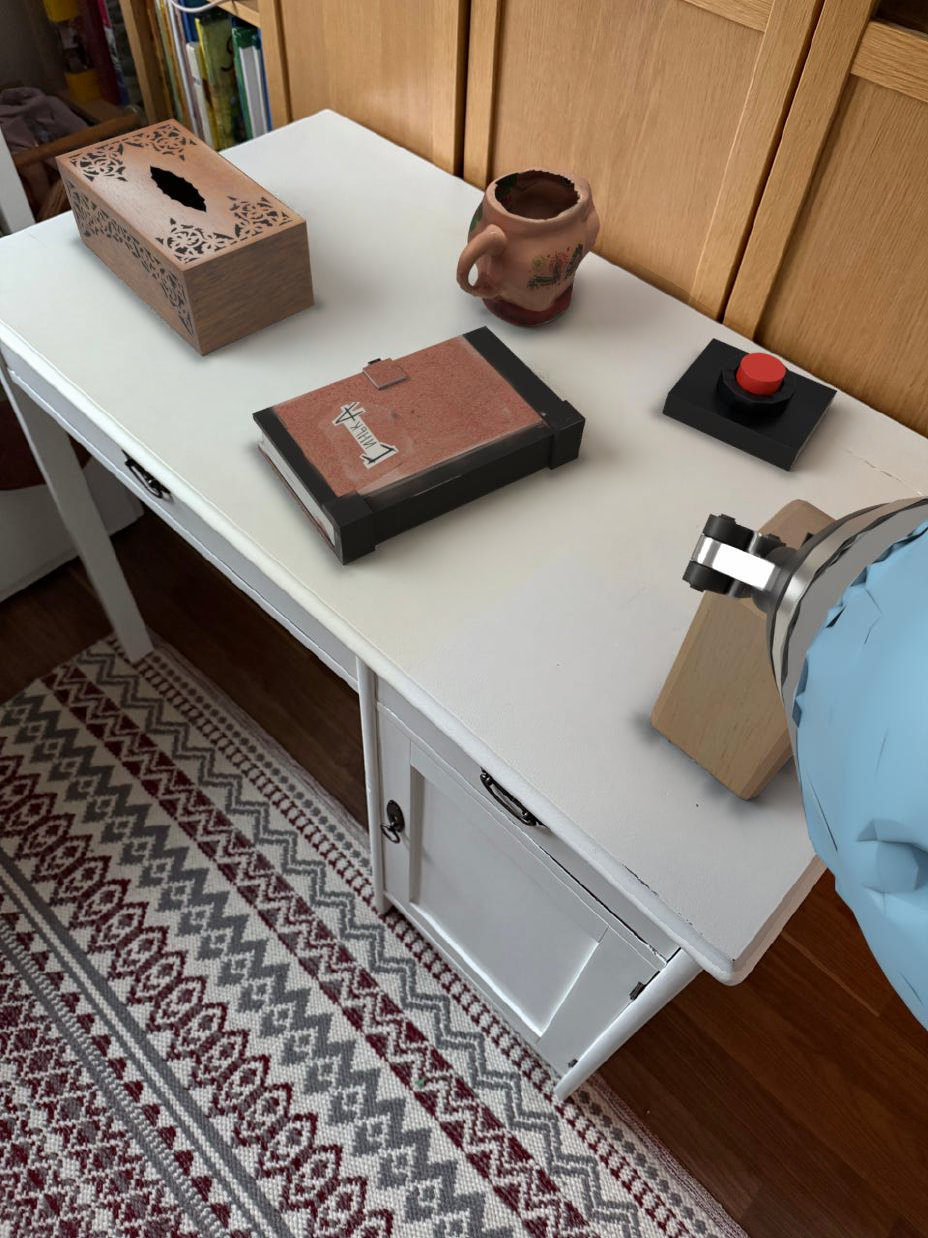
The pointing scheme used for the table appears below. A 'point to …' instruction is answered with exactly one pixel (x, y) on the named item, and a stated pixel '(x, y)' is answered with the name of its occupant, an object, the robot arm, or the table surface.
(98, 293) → the table surface
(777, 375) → the button
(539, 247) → the terracotta mug
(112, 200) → the tissue box cover
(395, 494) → the book
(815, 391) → the control block
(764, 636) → the wooden block
